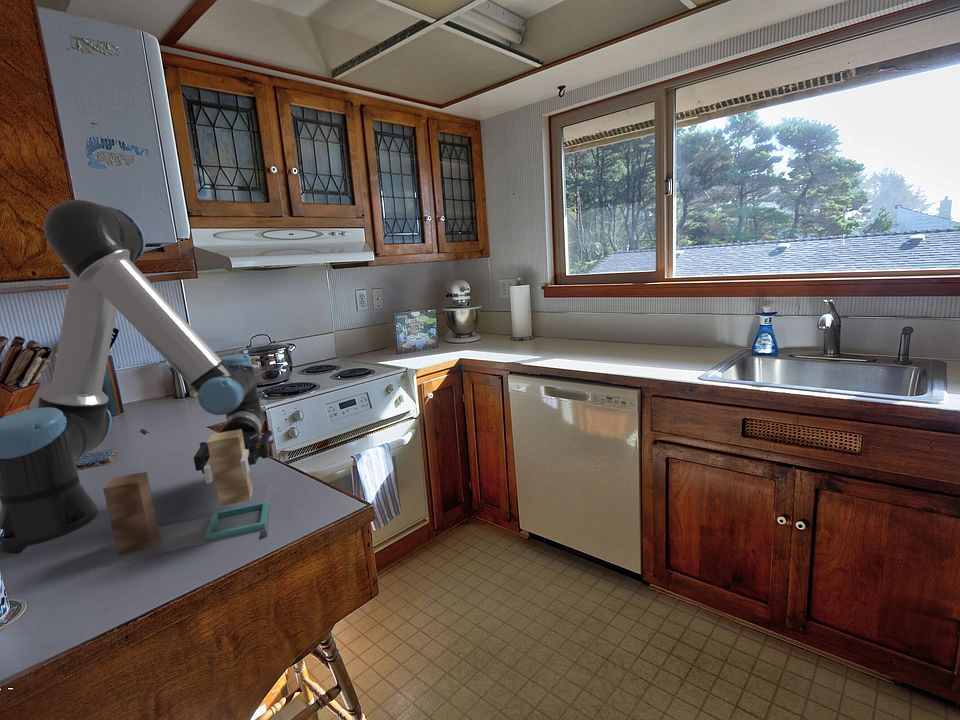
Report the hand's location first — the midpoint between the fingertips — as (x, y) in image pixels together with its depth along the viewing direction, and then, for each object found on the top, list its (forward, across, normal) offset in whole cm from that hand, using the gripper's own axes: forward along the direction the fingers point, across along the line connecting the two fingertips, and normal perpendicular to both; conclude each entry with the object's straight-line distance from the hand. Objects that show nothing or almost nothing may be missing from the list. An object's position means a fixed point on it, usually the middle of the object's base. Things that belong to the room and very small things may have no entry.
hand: (226, 471), depth 87 cm
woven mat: (-67, +44, -13) cm, 81 cm away
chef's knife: (-85, +36, -13) cm, 93 cm away
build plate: (-5, +8, -13) cm, 16 cm away
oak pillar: (-5, 0, -7) cm, 9 cm away
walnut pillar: (-5, +16, -12) cm, 21 cm away
